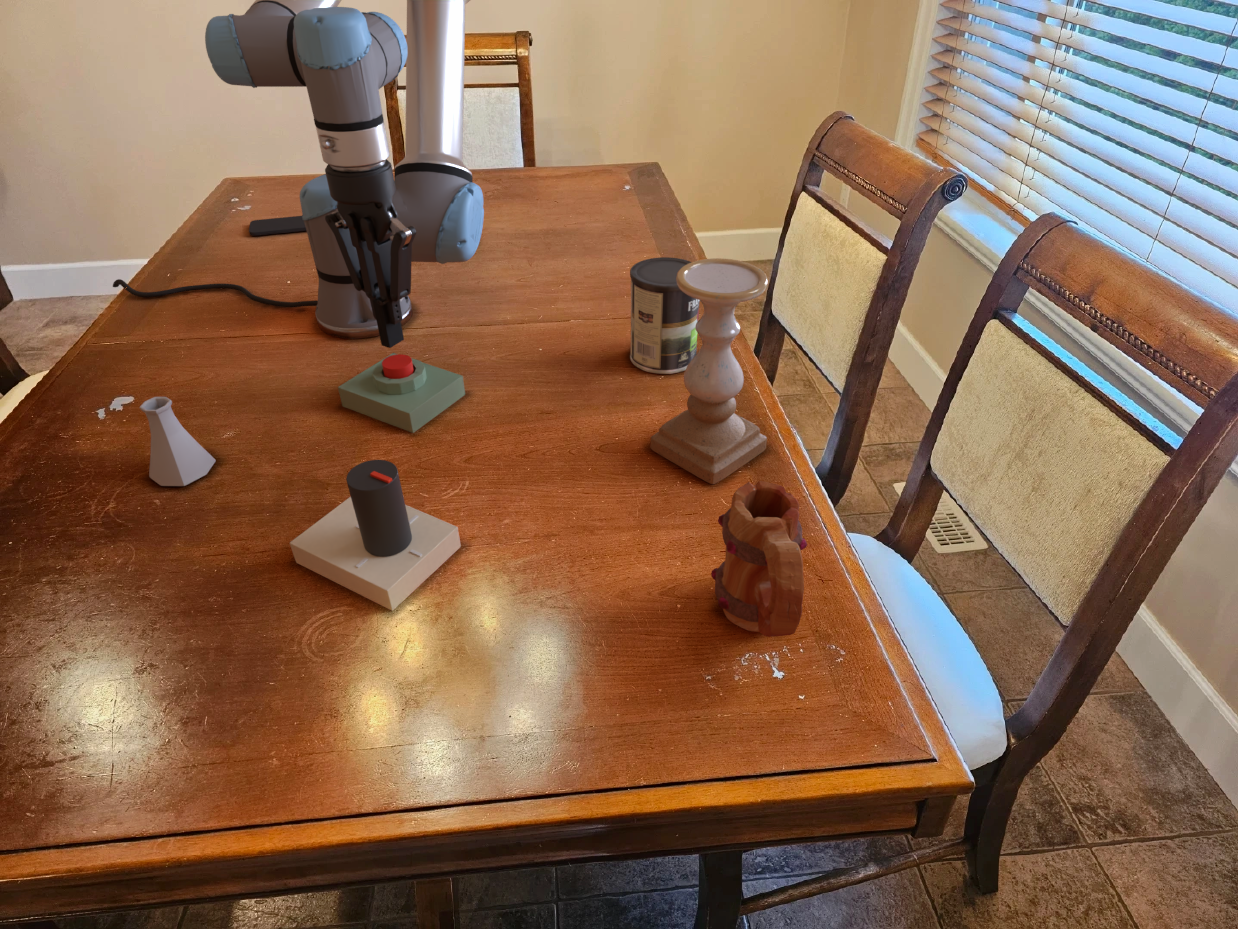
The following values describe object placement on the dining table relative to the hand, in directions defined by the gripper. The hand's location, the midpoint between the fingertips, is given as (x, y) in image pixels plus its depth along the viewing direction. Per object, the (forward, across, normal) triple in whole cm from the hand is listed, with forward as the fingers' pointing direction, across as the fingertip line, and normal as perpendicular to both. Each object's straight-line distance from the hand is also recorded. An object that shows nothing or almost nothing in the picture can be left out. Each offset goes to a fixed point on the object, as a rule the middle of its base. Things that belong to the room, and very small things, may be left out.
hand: (392, 342), depth 106 cm
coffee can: (+10, +26, +29) cm, 40 cm away
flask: (+10, -13, -26) cm, 31 cm away
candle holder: (+10, +42, +11) cm, 44 cm away
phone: (+9, -66, +38) cm, 77 cm away
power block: (+9, 0, 0) cm, 9 cm away
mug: (+10, +59, -14) cm, 61 cm away
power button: (+5, 0, 0) cm, 5 cm away
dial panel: (+9, +19, -25) cm, 33 cm away
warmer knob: (+6, +21, -25) cm, 33 cm away
